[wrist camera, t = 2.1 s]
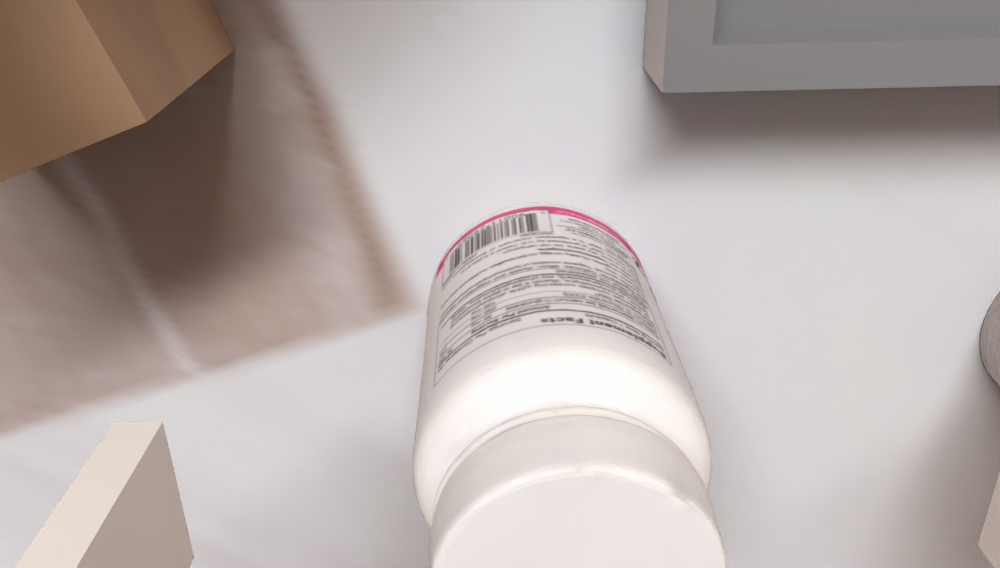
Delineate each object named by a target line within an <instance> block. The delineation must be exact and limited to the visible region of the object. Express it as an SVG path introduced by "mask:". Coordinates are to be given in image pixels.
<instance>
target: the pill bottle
mask: <svg viewBox="0 0 1000 568" xmlns="http://www.w3.org/2000/svg"><path fill="white" fill-rule="evenodd" d="M710 476H711V449H710V442H709V438H708V434H707V430H706V426H705V422H704V419H703V416H702V413H701V411H700V408H699V405H698V402H697V400H696V397H695V395H694V392H693V390H692V387H691V385H690V382H689V380H688V378H687V375H686V373H685V370H684V368H683V366H682V363H681V361H680V358H679V356H678V354H677V351H676V349H675V347H674V344H673V342H672V339H671V337H670V334H669V332H668V330H667V327H666V324H665V322H664V319H663V317H662V314H661V312H660V309H659V307H658V305H657V302H656V299H655V297H654V294H653V292H652V290H651V287H650V285H649V282H648V280H647V277H646V275H645V272H644V270H643V268H642V266H641V263H640V261H639V259H638V257H637V255H636V254H635V252H634V250H633V249H632V248H631V246H630V245H629V244H628V242H627V241H626V240H625V239H624V238H623V237H622V236H621V235H620V234H619V233H618V232H617V231H616V230H615V229H614V228H612V227H611V226H610V225H608V224H607V223H605V222H604V221H602V220H601V219H599V218H597V217H595V216H593V215H591V214H589V213H587V212H585V211H582V210H580V209H576V208H573V207H569V206H565V205H560V204H553V203H527V204H519V205H515V206H511V207H507V208H504V209H501V210H499V211H496V212H494V213H491V214H489V215H487V216H485V217H483V218H481V219H480V220H478V221H477V222H475V223H473V224H472V225H471V226H469V227H468V228H467V229H466V230H465V231H464V232H462V233H461V234H460V235H459V236H458V237H457V238H456V240H455V241H454V242H453V243H452V244H451V246H450V247H449V248H448V250H447V251H446V253H445V254H444V256H443V257H442V259H441V261H440V263H439V265H438V267H437V270H436V272H435V275H434V278H433V282H432V285H431V290H430V295H429V302H428V321H427V334H426V344H425V354H424V364H423V373H422V382H421V391H420V400H419V408H418V416H417V424H416V433H415V442H414V451H413V478H414V485H415V491H416V495H417V500H418V503H419V505H420V508H421V511H422V513H423V516H424V518H425V520H426V521H427V523H428V525H429V527H430V529H431V534H430V544H431V564H430V568H726V556H725V549H724V545H723V542H722V538H721V535H720V532H719V529H718V526H717V522H716V519H715V515H714V511H713V508H712V504H711V501H710V498H709V495H708V488H709V483H710Z"/></svg>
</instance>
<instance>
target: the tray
mask: <svg viewBox="0 0 1000 568" xmlns="http://www.w3.org/2000/svg"><path fill="white" fill-rule="evenodd" d="M643 68H644V69H645V71H646V72H647V73H648V75H649V76H650V77H651V79H652V80H653V81H654V83H655V84H656V85H657V87H658V88H659V89H660V91H661V92H662V93H690V92H733V91H777V90H820V89H864V88H908V87H951V86H995V85H1000V0H647V2H646V20H645V38H644V56H643Z"/></svg>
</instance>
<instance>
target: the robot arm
mask: <svg viewBox="0 0 1000 568" xmlns="http://www.w3.org/2000/svg"><path fill="white" fill-rule="evenodd" d="M978 546H979V548H980V549H981V550H982V552H983V553H984V555H985V556H986V558H987V559H988V561H989V562H990V563H991V565H992V566H993V568H1000V471H999V475H998V478H997V482H996V485H995V488H994V492H993V495H992V499H991V502H990V505H989V509H988V512H987V515H986V519H985V522H984V526H983V529H982V532H981V536H980V539H979V543H978ZM193 558H194V555H193V551H192V547H191V542H190V538H189V534H188V529H187V525H186V521H185V516H184V512H183V508H182V503H181V499H180V495H179V490H178V486H177V481H176V477H175V473H174V468H173V464H172V460H171V455H170V451H169V447H168V442H167V438H166V434H165V429H164V425H163V422H113V423H112V425H111V426H110V428H109V429H108V431H107V432H106V434H105V435H104V437H103V438H102V439H101V441H100V442H99V444H98V445H97V447H96V448H95V450H94V451H93V453H92V454H91V456H90V457H89V459H88V460H87V462H86V463H85V464H84V466H83V467H82V469H81V470H80V472H79V473H78V475H77V476H76V478H75V479H74V481H73V482H72V484H71V485H70V487H69V488H68V490H67V491H66V492H65V494H64V495H63V497H62V498H61V500H60V501H59V503H58V504H57V506H56V507H55V509H54V510H53V512H52V513H51V515H50V516H49V517H48V519H47V520H46V522H45V523H44V525H43V526H42V528H41V529H40V531H39V532H38V534H37V535H36V537H35V538H34V540H33V541H32V543H31V544H30V545H29V547H28V548H27V550H26V551H25V553H24V554H23V556H22V557H21V559H20V560H19V562H18V563H17V565H16V566H15V568H189V567H190V565H191V563H192V561H193Z"/></svg>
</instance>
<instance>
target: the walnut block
mask: <svg viewBox="0 0 1000 568" xmlns="http://www.w3.org/2000/svg"><path fill="white" fill-rule="evenodd" d="M234 50H235V48H234V46H233V44H232V42H231V40H230V38H229V36H228V34H227V32H226V30H225V28H224V26H223V24H222V22H221V20H220V18H219V17H218V15H217V13H216V11H215V9H214V7H213V5H212V3H211V1H210V0H0V181H3V180H5V179H8V178H10V177H13V176H15V175H18V174H20V173H23V172H25V171H28V170H30V169H32V168H35V167H37V166H40V165H42V164H45V163H47V162H50V161H52V160H55V159H57V158H60V157H62V156H64V155H67V154H69V153H72V152H74V151H77V150H79V149H82V148H84V147H87V146H89V145H91V144H94V143H96V142H99V141H101V140H104V139H106V138H109V137H111V136H114V135H116V134H119V133H121V132H123V131H126V130H128V129H131V128H133V127H136V126H138V125H141V124H143V123H146V122H147V121H149V120H150V119H151V118H152V117H154V116H155V115H156V114H157V113H158V112H160V111H161V110H162V109H163V108H164V107H166V106H167V105H168V104H169V103H171V102H172V101H173V100H174V99H175V98H177V97H178V96H179V95H180V94H182V93H183V92H184V91H185V90H186V89H188V88H189V87H190V86H191V85H192V84H194V83H195V82H196V81H197V80H199V79H200V78H201V77H202V76H203V75H205V74H206V73H207V72H208V71H209V70H211V69H212V68H213V67H214V66H216V65H217V64H218V63H219V62H220V61H222V60H223V59H224V58H225V57H227V56H228V55H229V54H230V53H231V52H233V51H234Z"/></svg>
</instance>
